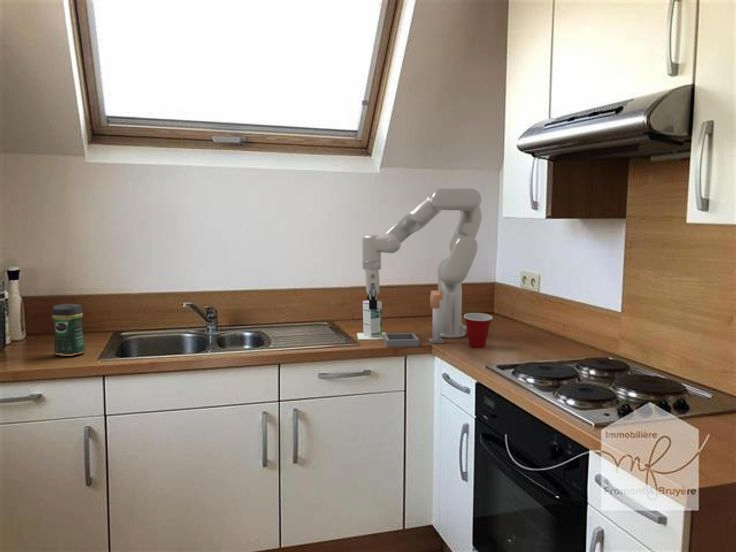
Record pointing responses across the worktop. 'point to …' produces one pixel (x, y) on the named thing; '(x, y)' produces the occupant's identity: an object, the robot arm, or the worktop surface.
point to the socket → (411, 338)
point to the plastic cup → (477, 328)
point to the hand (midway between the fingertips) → (372, 307)
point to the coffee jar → (68, 328)
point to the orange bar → (435, 299)
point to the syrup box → (372, 320)
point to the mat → (363, 337)
